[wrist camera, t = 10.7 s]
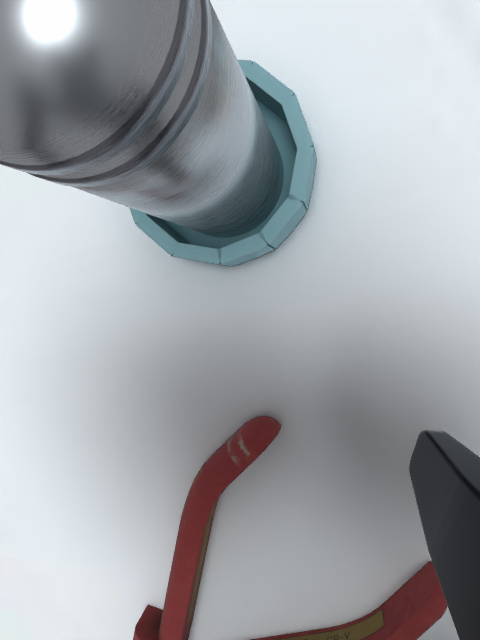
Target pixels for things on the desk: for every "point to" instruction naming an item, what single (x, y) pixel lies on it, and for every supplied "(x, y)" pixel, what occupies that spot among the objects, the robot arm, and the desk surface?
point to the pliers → (176, 617)
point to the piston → (137, 110)
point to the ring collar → (295, 193)
